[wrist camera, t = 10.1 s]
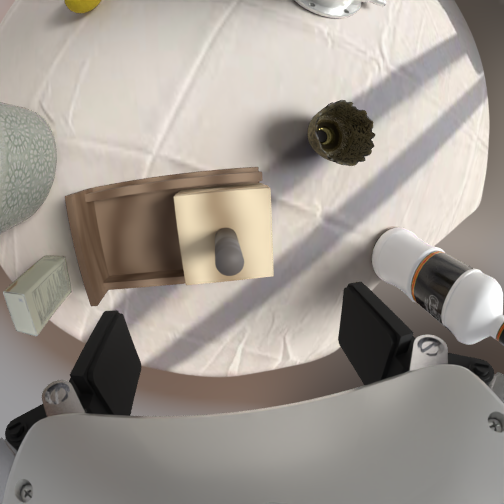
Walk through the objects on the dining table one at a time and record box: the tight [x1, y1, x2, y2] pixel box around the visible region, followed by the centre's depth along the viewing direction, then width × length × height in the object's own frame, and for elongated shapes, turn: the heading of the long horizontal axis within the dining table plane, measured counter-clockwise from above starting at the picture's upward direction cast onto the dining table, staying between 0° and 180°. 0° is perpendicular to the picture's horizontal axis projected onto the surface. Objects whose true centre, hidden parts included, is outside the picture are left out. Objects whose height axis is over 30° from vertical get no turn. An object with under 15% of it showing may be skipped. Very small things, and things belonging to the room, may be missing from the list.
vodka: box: [372, 227, 504, 345], centre depth 27 cm, size 9×9×30 cm
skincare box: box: [3, 256, 71, 336], centre depth 29 cm, size 6×4×12 cm
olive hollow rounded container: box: [308, 100, 375, 166], centre depth 30 cm, size 8×7×8 cm
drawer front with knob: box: [174, 183, 273, 285], centre depth 29 cm, size 10×10×13 cm
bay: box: [65, 167, 262, 306], centre depth 32 cm, size 23×14×7 cm, turn 93°
